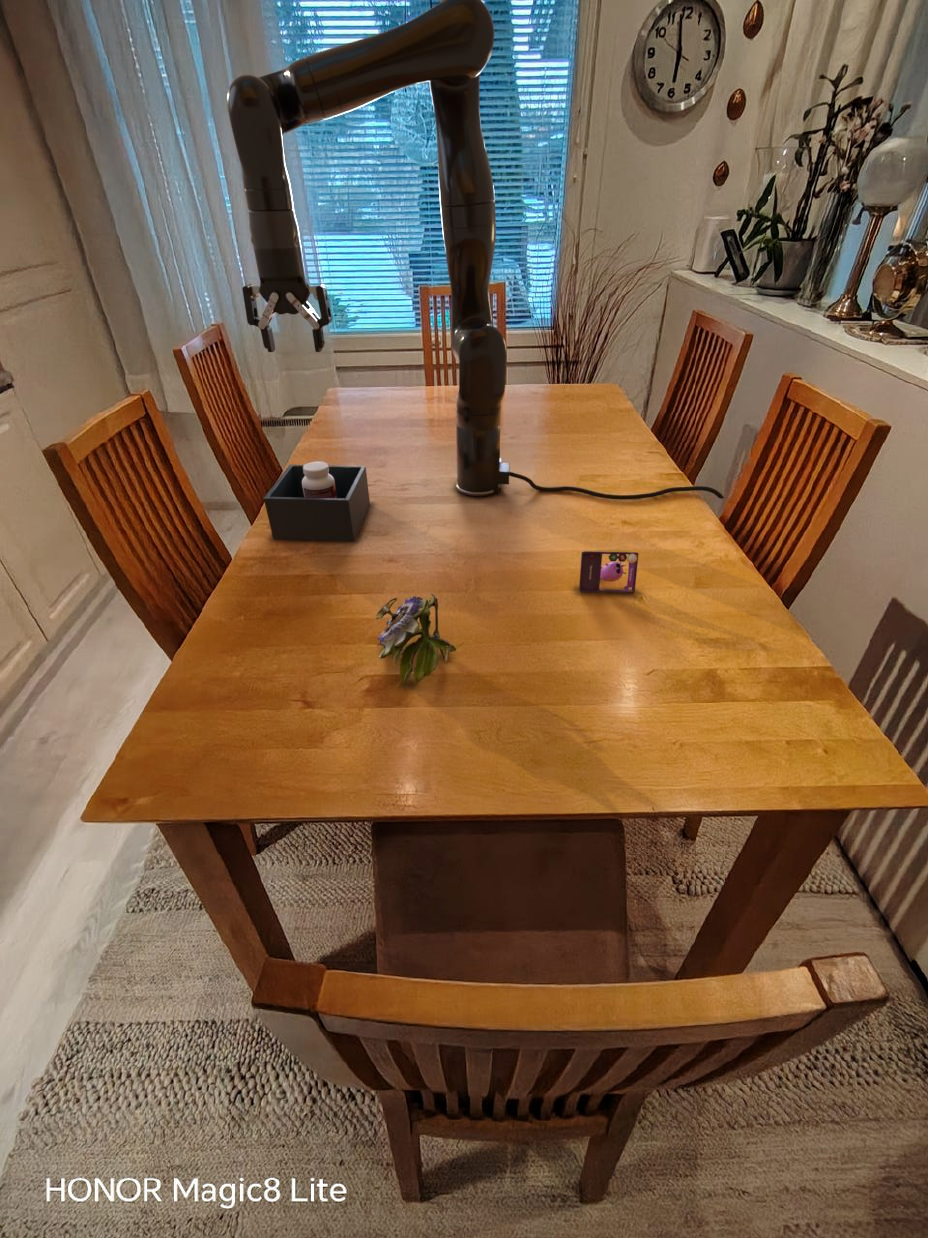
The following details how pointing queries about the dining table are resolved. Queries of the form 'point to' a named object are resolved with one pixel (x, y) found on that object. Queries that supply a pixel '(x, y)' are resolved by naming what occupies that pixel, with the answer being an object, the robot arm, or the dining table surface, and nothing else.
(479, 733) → the dining table surface
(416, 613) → the passion flower
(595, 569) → the game card
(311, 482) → the pill bottle
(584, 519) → the dining table surface
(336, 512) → the open storage bin
